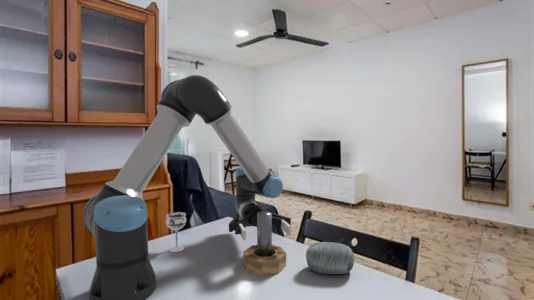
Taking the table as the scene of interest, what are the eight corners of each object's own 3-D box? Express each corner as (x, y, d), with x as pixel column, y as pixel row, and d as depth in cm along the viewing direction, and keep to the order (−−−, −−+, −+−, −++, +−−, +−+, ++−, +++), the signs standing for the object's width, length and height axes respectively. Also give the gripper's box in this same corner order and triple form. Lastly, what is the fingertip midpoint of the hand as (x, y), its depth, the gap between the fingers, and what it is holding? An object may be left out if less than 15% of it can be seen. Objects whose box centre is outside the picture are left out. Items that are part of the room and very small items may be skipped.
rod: (259, 269, 84) (259, 215, 83) (255, 262, 88) (255, 211, 87) (273, 267, 85) (273, 214, 84) (269, 260, 89) (269, 210, 88)
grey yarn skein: (355, 253, 86) (348, 230, 82) (359, 282, 78) (351, 257, 74) (311, 258, 90) (302, 236, 86) (311, 286, 82) (301, 263, 78)
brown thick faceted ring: (249, 277, 79) (249, 263, 78) (241, 258, 90) (241, 246, 90) (290, 271, 82) (290, 258, 82) (277, 254, 94) (277, 242, 93)
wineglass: (168, 245, 101) (168, 212, 100) (188, 244, 102) (187, 211, 101) (164, 253, 94) (163, 218, 94) (185, 252, 95) (184, 217, 94)
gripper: (283, 220, 106) (307, 241, 86) (216, 226, 100) (224, 250, 79) (283, 200, 106) (307, 216, 86) (216, 205, 99) (224, 224, 79)
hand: (267, 233), depth 82 cm, fingers open, 13 cm apart
